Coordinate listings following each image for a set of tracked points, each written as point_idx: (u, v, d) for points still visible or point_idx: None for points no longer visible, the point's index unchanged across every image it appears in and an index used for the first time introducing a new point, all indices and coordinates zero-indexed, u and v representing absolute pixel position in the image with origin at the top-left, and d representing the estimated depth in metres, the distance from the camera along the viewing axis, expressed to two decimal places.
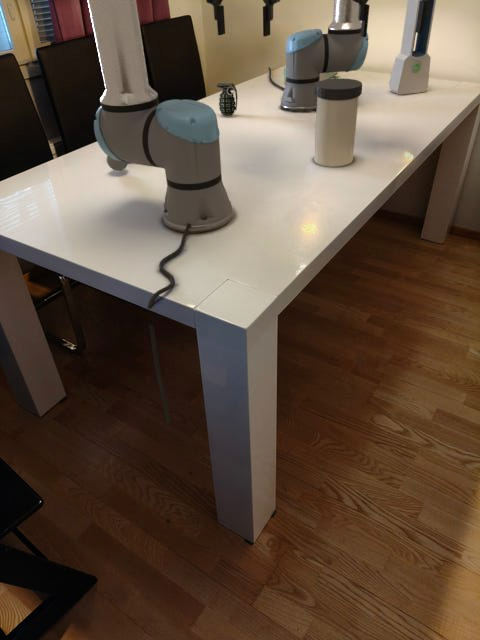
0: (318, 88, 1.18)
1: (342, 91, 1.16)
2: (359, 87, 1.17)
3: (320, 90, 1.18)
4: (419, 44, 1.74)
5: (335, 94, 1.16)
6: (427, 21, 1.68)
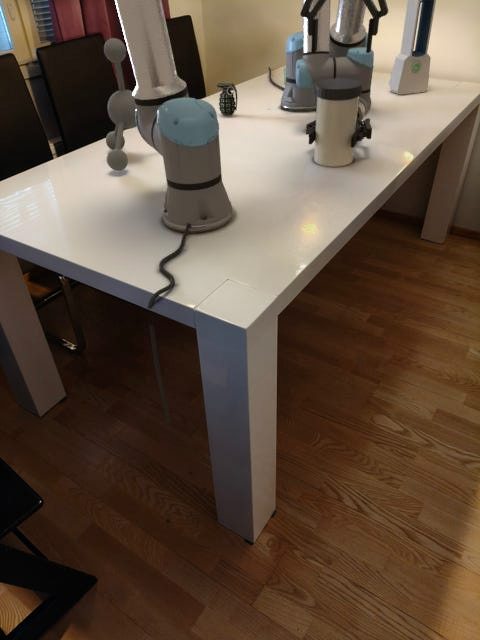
0: (318, 88, 1.18)
1: (342, 91, 1.16)
2: (359, 87, 1.17)
3: (320, 90, 1.18)
4: (419, 44, 1.74)
5: (335, 94, 1.16)
6: (427, 21, 1.68)
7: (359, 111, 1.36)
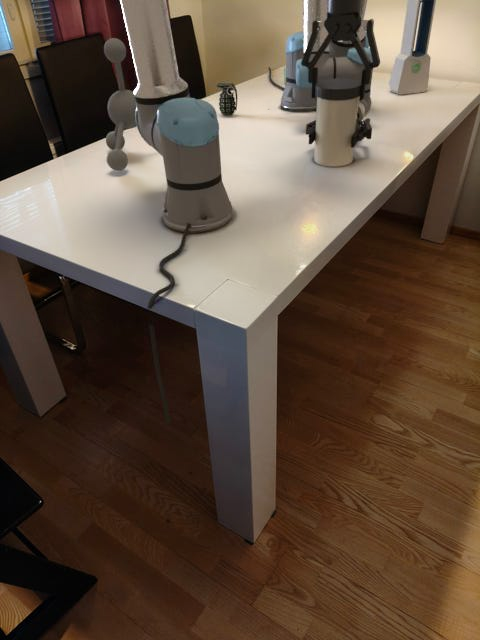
0: (318, 88, 1.18)
1: (342, 91, 1.16)
2: (359, 87, 1.17)
3: (320, 90, 1.18)
4: (419, 44, 1.74)
5: (335, 94, 1.16)
6: (427, 21, 1.68)
7: (359, 111, 1.36)
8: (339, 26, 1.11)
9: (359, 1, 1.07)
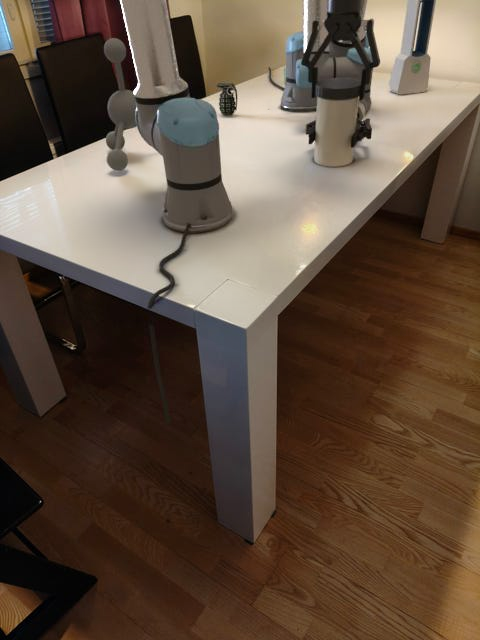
0: (354, 88, 1.16)
1: None
2: None
3: (356, 89, 1.17)
4: (419, 44, 1.74)
5: None
6: (427, 21, 1.68)
7: (359, 111, 1.36)
8: (339, 25, 1.11)
9: (359, 1, 1.07)
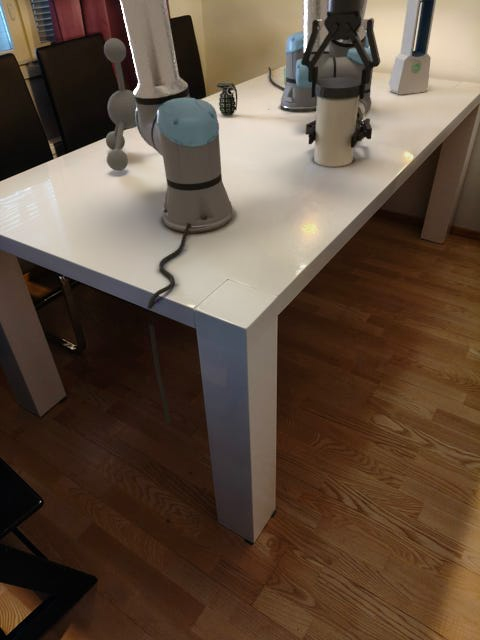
0: None
1: None
2: None
3: None
4: (419, 44, 1.74)
5: None
6: (427, 21, 1.68)
7: (359, 111, 1.36)
8: (339, 25, 1.11)
9: (359, 0, 1.07)
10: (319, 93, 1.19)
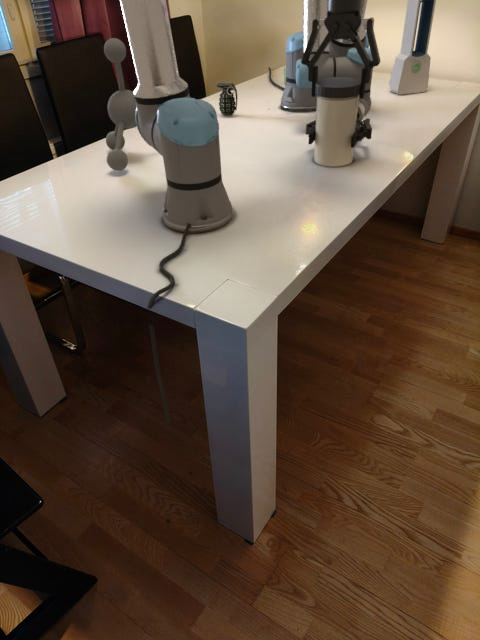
0: None
1: (320, 88, 1.18)
2: (339, 89, 1.15)
3: None
4: (419, 44, 1.74)
5: (316, 89, 1.19)
6: (427, 21, 1.68)
7: (359, 111, 1.36)
8: (339, 24, 1.11)
9: None
10: (355, 92, 1.17)
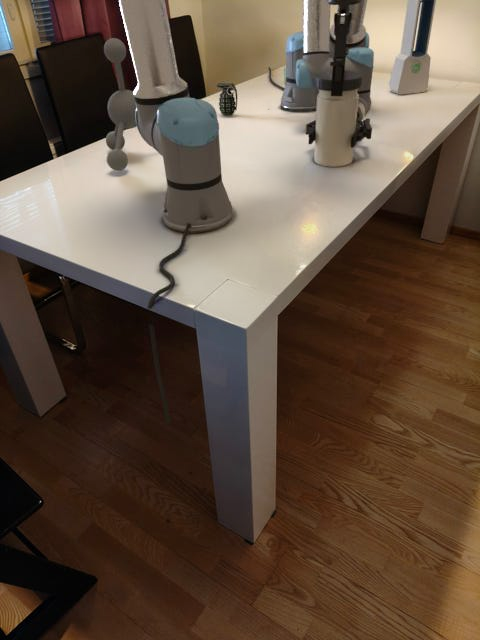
0: (330, 81, 1.15)
1: (356, 80, 1.15)
2: None
3: None
4: (419, 44, 1.74)
5: (351, 84, 1.15)
6: (427, 21, 1.68)
7: (359, 111, 1.36)
8: None
9: None
10: None
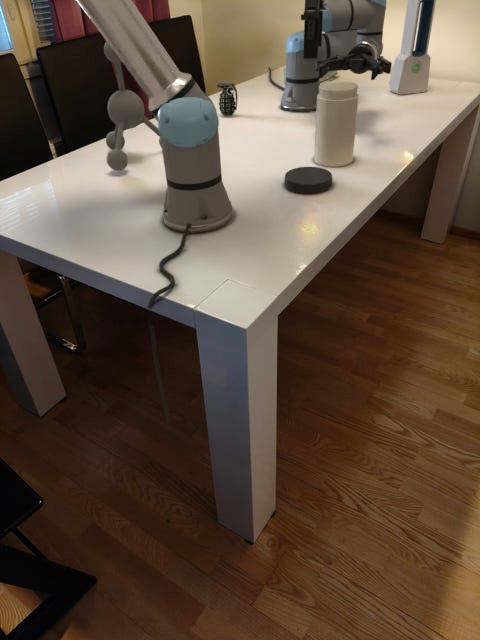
0: (299, 185, 1.14)
1: (325, 183, 1.14)
2: None
3: (302, 186, 1.14)
4: (419, 44, 1.74)
5: (320, 187, 1.14)
6: (427, 21, 1.68)
7: (372, 50, 1.37)
8: None
9: None
10: None
